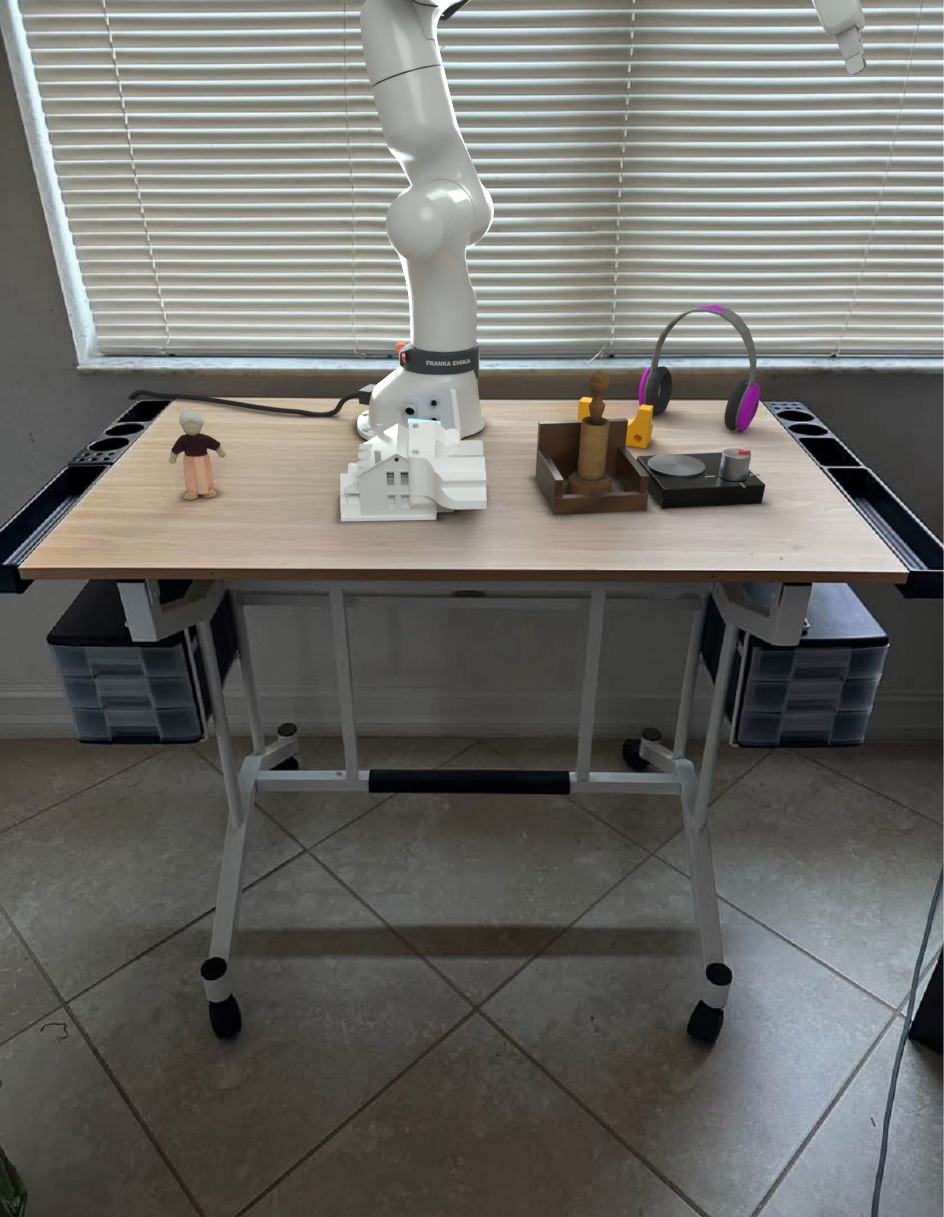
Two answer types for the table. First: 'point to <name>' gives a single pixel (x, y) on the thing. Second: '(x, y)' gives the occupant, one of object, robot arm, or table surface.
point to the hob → (702, 486)
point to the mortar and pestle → (593, 443)
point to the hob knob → (735, 464)
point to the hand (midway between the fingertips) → (858, 72)
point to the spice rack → (561, 461)
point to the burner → (676, 465)
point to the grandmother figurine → (196, 455)
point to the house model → (413, 475)
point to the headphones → (743, 395)
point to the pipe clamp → (637, 427)
